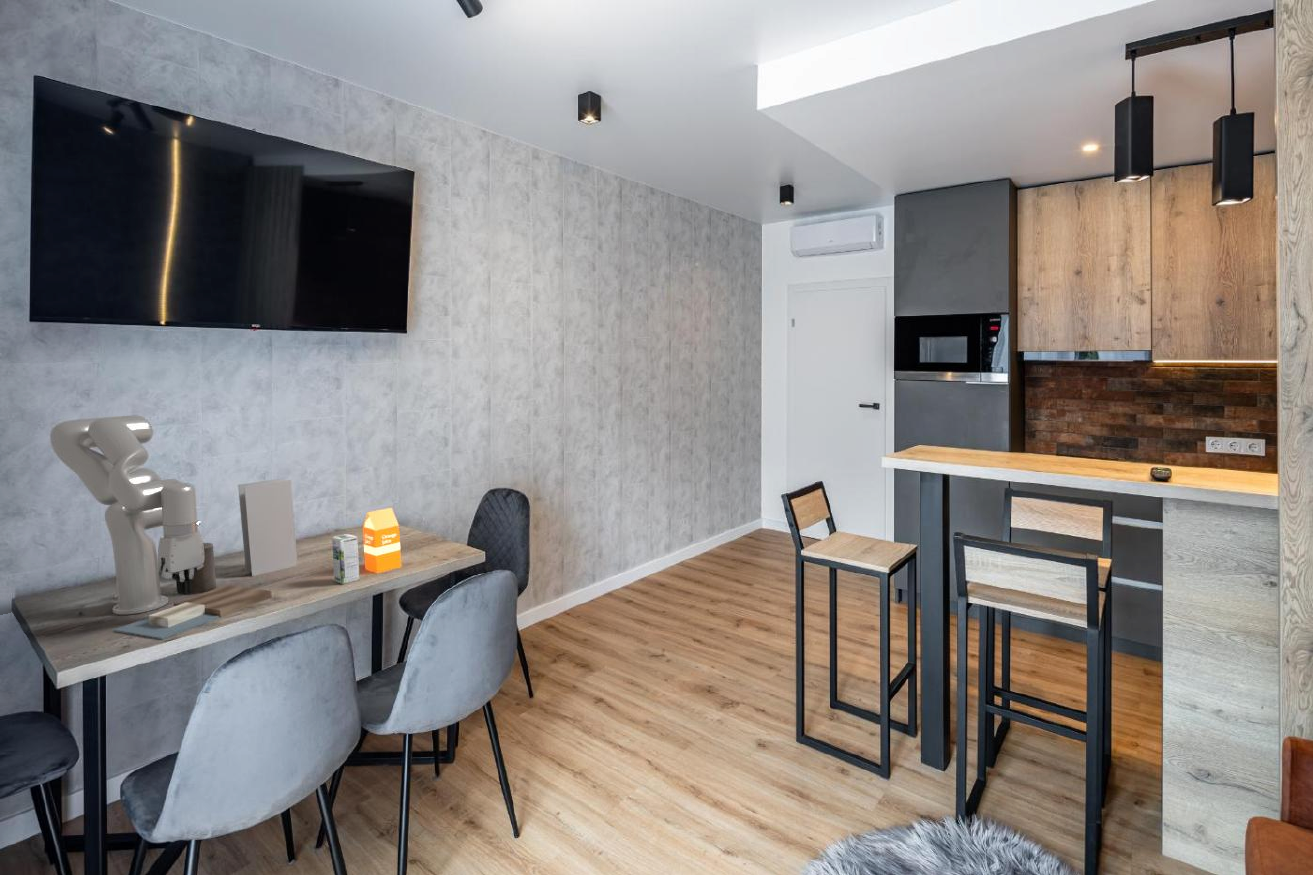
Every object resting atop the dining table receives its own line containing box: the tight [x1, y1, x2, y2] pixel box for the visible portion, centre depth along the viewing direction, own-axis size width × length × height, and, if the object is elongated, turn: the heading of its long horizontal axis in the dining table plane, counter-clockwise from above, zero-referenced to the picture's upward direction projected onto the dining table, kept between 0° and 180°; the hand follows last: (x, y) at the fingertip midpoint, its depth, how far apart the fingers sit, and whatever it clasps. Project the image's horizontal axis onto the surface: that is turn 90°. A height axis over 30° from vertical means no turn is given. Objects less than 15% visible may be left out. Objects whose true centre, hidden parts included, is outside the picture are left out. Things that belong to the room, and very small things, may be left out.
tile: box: [148, 602, 205, 627], centre depth 178 cm, size 7×10×2 cm
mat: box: [113, 614, 220, 641], centre depth 176 cm, size 18×15×1 cm
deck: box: [173, 584, 273, 618], centre depth 191 cm, size 18×16×2 cm
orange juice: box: [362, 507, 402, 574], centre depth 221 cm, size 8×9×20 cm
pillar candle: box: [189, 542, 217, 595], centre depth 203 cm, size 10×10×15 cm
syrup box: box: [331, 533, 360, 585], centre depth 209 cm, size 6×6×14 cm
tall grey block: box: [237, 478, 298, 577], centre depth 221 cm, size 14×6×30 cm, turn 141°
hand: (184, 593), depth 181 cm, fingers closed
